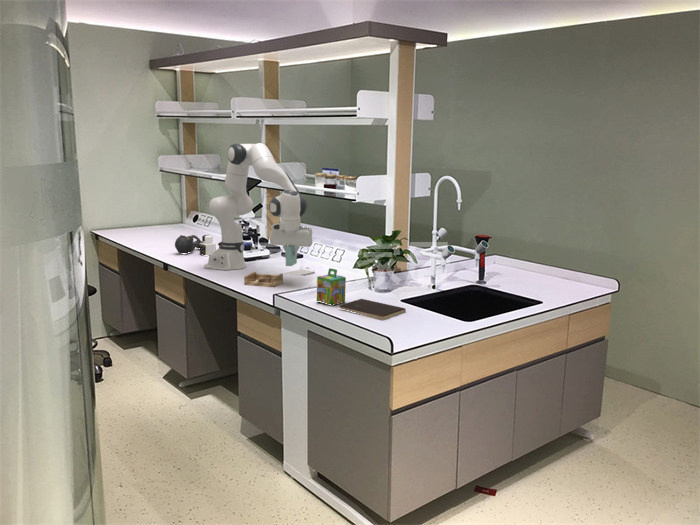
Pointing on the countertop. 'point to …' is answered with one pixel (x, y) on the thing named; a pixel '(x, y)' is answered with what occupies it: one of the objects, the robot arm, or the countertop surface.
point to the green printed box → (331, 288)
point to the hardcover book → (372, 309)
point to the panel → (290, 256)
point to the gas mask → (187, 243)
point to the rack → (274, 282)
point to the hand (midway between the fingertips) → (291, 255)
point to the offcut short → (264, 279)
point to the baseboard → (300, 272)
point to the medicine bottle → (207, 245)
